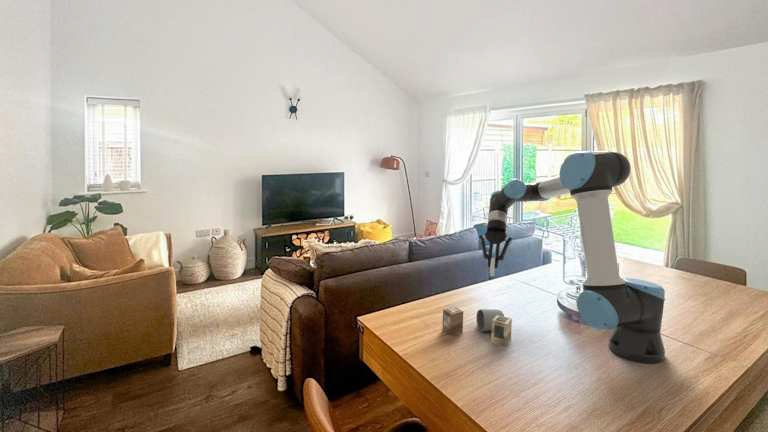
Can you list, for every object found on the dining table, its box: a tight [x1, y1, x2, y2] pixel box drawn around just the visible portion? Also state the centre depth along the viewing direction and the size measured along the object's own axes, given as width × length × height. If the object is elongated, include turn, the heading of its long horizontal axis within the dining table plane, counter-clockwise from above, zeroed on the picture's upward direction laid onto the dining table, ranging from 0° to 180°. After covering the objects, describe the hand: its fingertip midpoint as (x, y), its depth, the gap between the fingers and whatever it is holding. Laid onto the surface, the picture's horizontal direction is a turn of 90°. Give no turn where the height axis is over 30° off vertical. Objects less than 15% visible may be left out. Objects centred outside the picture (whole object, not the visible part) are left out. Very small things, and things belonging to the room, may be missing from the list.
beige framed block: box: [490, 315, 513, 347], centre depth 132 cm, size 5×5×8 cm
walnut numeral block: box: [441, 306, 464, 337], centre depth 140 cm, size 5×5×8 cm
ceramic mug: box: [475, 308, 505, 332], centre depth 143 cm, size 11×8×8 cm
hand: (491, 274), depth 151 cm, fingers closed
